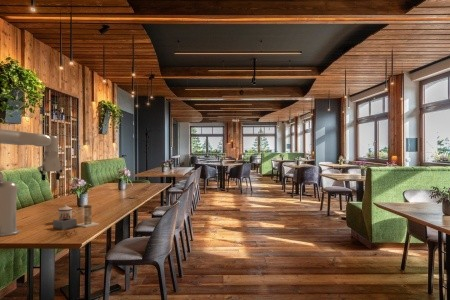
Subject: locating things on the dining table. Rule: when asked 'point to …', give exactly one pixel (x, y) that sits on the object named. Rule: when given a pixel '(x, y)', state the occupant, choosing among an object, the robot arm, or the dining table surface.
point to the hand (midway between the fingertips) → (50, 180)
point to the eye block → (64, 223)
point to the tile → (87, 225)
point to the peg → (87, 214)
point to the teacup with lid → (66, 212)
